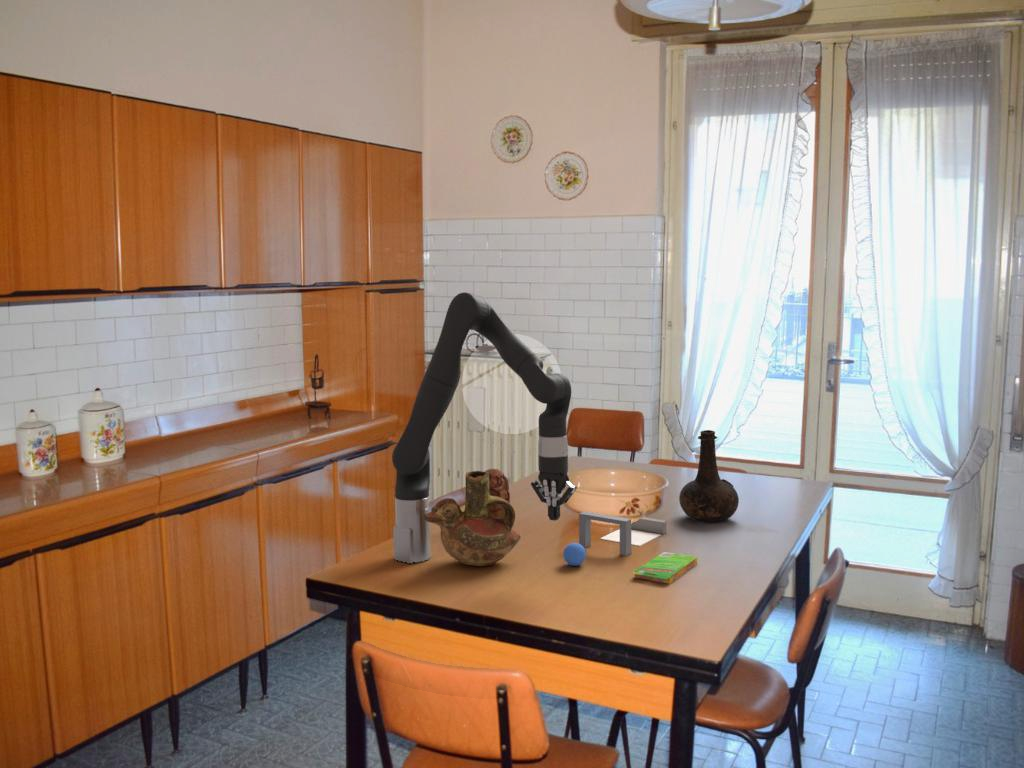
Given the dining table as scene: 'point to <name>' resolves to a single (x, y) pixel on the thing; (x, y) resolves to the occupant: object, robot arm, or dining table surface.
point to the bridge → (623, 522)
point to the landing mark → (632, 537)
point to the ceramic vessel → (475, 524)
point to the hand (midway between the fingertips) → (554, 519)
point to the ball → (574, 554)
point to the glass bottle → (708, 488)
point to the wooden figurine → (498, 491)
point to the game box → (665, 567)
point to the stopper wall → (650, 525)
